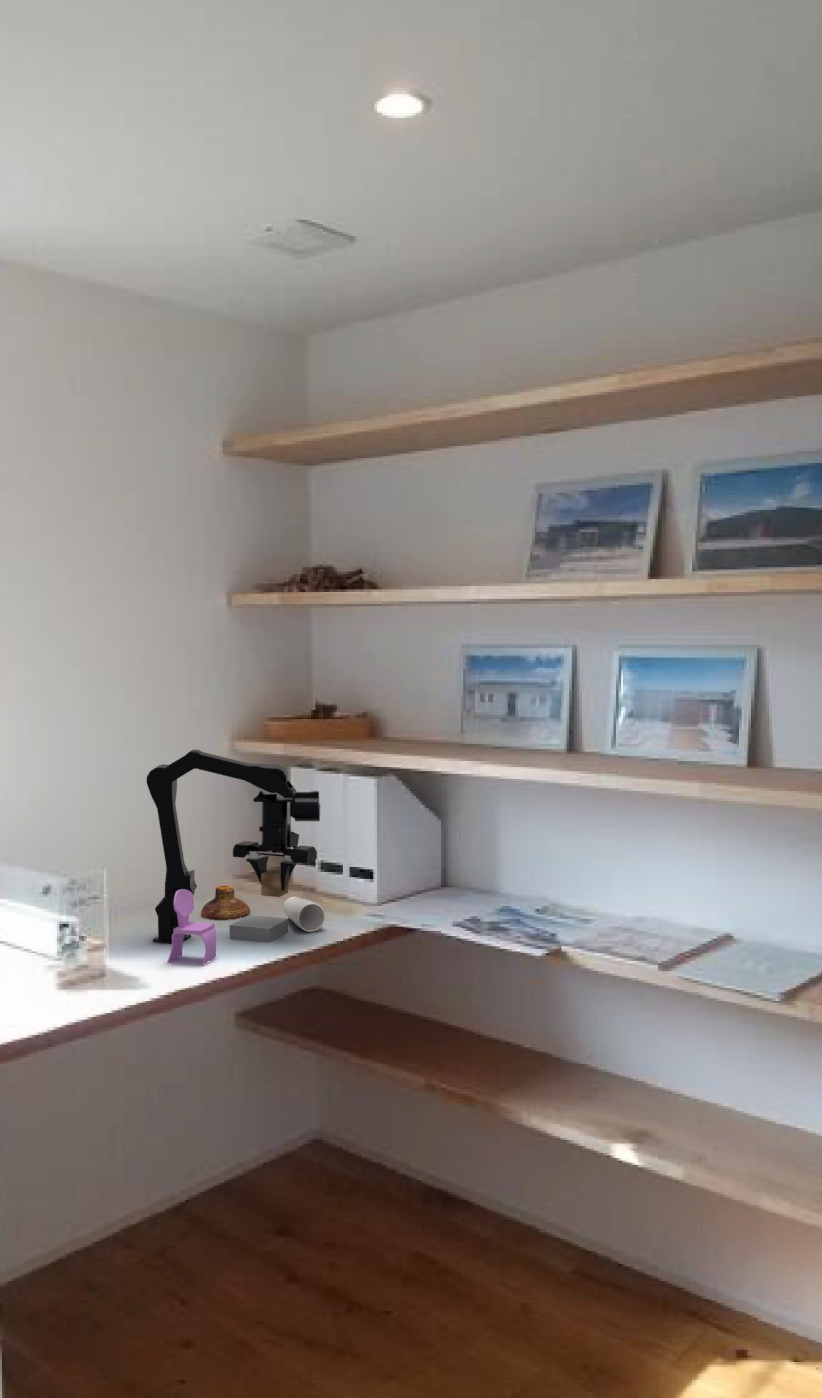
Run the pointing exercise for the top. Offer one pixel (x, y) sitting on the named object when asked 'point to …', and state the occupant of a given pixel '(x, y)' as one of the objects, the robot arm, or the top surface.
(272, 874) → the walnut block
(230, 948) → the top surface
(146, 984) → the top surface
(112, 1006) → the top surface
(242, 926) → the base
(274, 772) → the robot arm
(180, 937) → the toy chair
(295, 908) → the white hollow cylinder
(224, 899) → the bell
